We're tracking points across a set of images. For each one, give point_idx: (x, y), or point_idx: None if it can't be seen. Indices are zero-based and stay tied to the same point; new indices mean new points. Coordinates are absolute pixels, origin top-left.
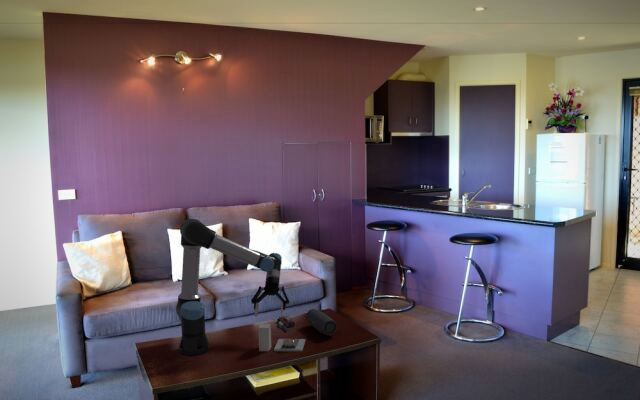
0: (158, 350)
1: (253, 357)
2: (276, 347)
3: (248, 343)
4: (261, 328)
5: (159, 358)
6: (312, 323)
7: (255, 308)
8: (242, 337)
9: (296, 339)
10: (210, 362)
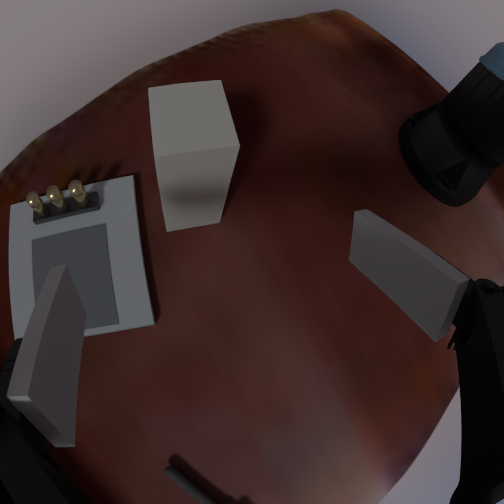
0: None
1: None
2: (126, 197)
3: (307, 247)
4: (198, 85)
5: None
6: None
7: (409, 237)
8: (374, 317)
9: None
10: (330, 76)
